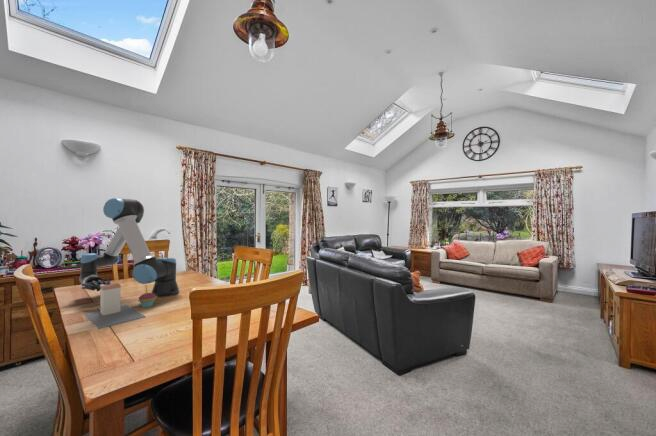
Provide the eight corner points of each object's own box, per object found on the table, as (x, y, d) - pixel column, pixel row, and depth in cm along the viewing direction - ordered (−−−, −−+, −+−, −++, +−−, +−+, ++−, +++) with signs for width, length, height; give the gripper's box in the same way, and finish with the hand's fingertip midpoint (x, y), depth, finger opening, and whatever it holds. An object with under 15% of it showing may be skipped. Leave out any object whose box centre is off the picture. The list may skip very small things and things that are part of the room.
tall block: (100, 313, 136) (100, 285, 136) (117, 309, 142) (117, 283, 142) (103, 315, 133) (103, 287, 133) (120, 311, 139) (120, 284, 139)
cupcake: (135, 307, 147) (135, 285, 147) (151, 302, 155) (151, 281, 155) (143, 309, 143) (144, 287, 143) (160, 305, 151) (160, 283, 151)
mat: (83, 314, 135) (83, 313, 135) (126, 305, 150) (126, 304, 150) (98, 329, 118) (98, 328, 118) (145, 317, 133) (145, 316, 133)
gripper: (107, 286, 162) (119, 293, 147) (78, 291, 151) (88, 299, 137) (107, 273, 162) (120, 279, 147) (78, 277, 151) (88, 284, 137)
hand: (105, 289), depth 142 cm, fingers closed
